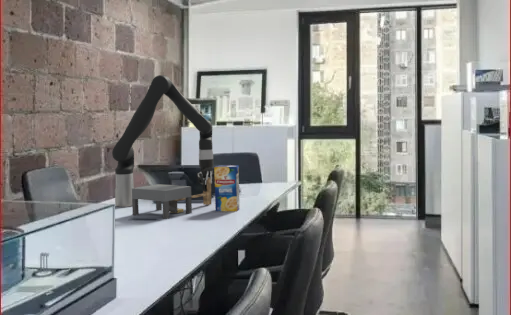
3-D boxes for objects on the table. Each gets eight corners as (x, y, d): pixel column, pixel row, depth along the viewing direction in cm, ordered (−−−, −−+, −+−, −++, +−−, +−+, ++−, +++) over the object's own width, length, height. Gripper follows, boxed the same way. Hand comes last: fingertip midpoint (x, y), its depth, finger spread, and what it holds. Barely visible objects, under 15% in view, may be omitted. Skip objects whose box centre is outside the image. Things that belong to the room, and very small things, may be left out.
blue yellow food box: (237, 211, 283) (236, 166, 282) (215, 211, 285) (214, 166, 283) (239, 208, 290) (238, 165, 288) (218, 208, 292) (217, 165, 290)
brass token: (170, 212, 284) (170, 209, 284) (176, 211, 288) (176, 208, 288) (177, 213, 282) (177, 210, 282) (183, 212, 285) (183, 208, 285)
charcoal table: (132, 215, 279) (131, 188, 278) (158, 209, 294) (158, 184, 293) (166, 218, 266) (165, 190, 265) (191, 212, 281) (191, 186, 280)
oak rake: (205, 203, 307) (204, 177, 306) (212, 204, 304) (212, 177, 303) (168, 211, 283) (167, 183, 282) (175, 212, 280) (174, 183, 279)
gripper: (209, 157, 310) (210, 189, 311) (191, 159, 299) (192, 192, 300) (220, 157, 306) (220, 189, 307) (202, 159, 294) (203, 193, 296)
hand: (207, 190), depth 303 cm, fingers closed on oak rake, 3 cm apart
